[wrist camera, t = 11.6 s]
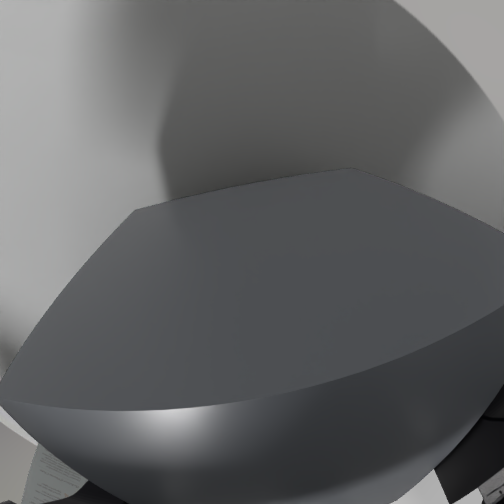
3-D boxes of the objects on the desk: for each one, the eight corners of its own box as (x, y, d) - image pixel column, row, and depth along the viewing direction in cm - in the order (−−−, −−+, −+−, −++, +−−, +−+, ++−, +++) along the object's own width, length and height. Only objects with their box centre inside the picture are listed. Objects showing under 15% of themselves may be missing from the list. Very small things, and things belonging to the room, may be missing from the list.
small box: (47, 448, 19) (27, 534, 7) (42, 428, 17) (14, 531, 5) (111, 475, 21) (101, 564, 9) (116, 460, 19) (105, 568, 7)
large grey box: (351, 167, 9) (556, 266, 2) (347, 388, 14) (396, 500, 7) (134, 210, 9) (-8, 396, 2) (218, 416, 14) (227, 540, 7)
